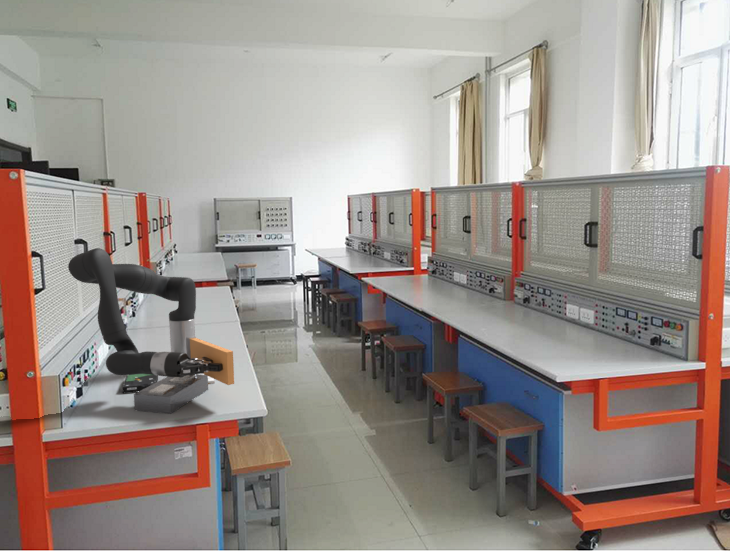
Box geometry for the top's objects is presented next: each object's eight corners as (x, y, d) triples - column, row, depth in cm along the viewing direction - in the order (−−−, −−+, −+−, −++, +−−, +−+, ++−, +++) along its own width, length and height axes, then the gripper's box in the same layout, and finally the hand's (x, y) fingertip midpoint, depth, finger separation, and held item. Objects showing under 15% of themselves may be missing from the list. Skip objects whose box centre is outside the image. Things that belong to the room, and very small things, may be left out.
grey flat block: (175, 387, 192) (174, 371, 192) (208, 389, 190) (207, 373, 189) (134, 410, 171) (133, 392, 171) (170, 413, 168) (169, 395, 168)
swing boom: (185, 367, 191) (184, 337, 190) (194, 365, 193) (193, 336, 192) (226, 385, 171) (225, 352, 170) (236, 383, 173) (234, 350, 172)
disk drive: (156, 392, 190) (158, 378, 204) (156, 383, 190) (157, 370, 204) (122, 395, 187) (126, 381, 201) (122, 387, 186) (126, 373, 200)
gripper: (156, 358, 170) (209, 361, 166) (181, 347, 183) (231, 349, 178) (158, 382, 171) (211, 386, 167) (182, 370, 183) (232, 373, 179)
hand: (221, 367), depth 172 cm, fingers closed
